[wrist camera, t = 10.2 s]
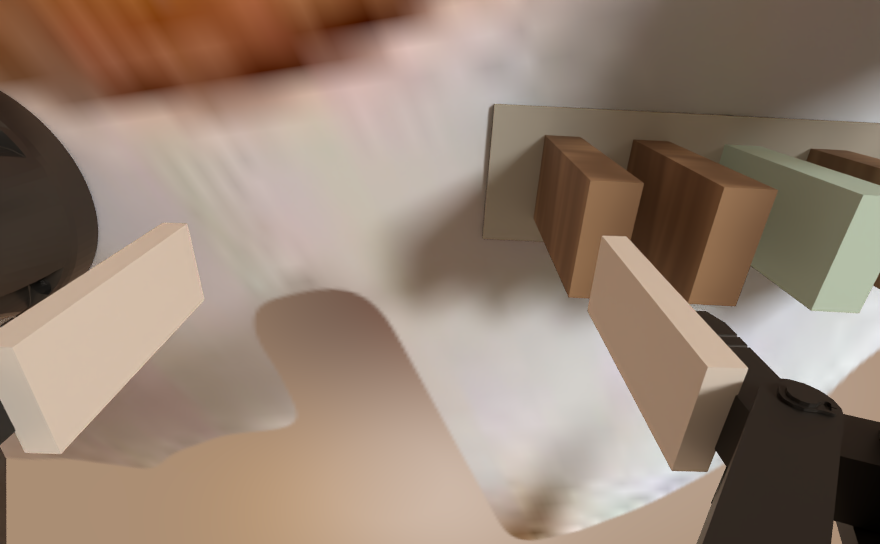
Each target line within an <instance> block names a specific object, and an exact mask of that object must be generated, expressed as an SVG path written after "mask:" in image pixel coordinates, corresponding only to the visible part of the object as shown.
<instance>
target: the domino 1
mask: <svg viewBox="0 0 880 544" xmlns="http://www.w3.org/2000/svg"><path fill="white" fill-rule="evenodd" d="M643 186H644V183H643V182H642V181H640V180H639V179H638V178H636V177H635V176H633V175H632V174H631V173H629V172H628V171H627V170H625V169H624V168H622V167H621V166H620V165H618V164H617V163H616V162H614V161H613V160H611V159H610V158H609V157H607V156H606V155H605V154H603V153H602V152H601V151H599V150H598V149H596V148H595V147H594V146H592V145H591V144H590V143H588V142H587V141H585V140H584V139H583V138H581V137H575V136H555V135H545V139H544V146H543V153H542V160H541V168H540V175H539V182H538V189H537V197H536V204H535V211H534V218H533V219H534V221H535V223H536V225H537V228H538V230H539V232H540V234H541V237H542V239H543V241H544V243H545V245H546V248H547V250H548V252H549V254H550V257H551V259H552V261H553V263H554V266H555V268H556V270H557V272H558V274H559V277H560V279H561V281H562V283H563V286H564V288H565V290H566V292H567V295H568V297H573V298H590V295H591V289H592V284H593V279H594V274H595V269H596V264H597V259H598V253H599V248H600V243H601V238H602V236H626V237H627V238H628V239H629V240H631V236H632V232H633V228H634V223H635V219H636V215H637V211H638V207H639V202H640V198H641V194H642V190H643Z"/></svg>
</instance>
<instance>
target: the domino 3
mask: <svg viewBox="0 0 880 544" xmlns="http://www.w3.org/2000/svg"><path fill="white" fill-rule="evenodd" d="M806 161H807V162H810V163H813V164H816V165H819V166H822V167H825V168H828V169H831V170H834V171H837V172H840V173H843V174H846V175H850V176H853V177H856V178H859V179H862V180H865V181H868V182H871V183H874V184H877V185H880V159H877V158H874V157H870V156H866V155H862V154H859V153H855V152H851V151H847V150H831V149H812V148H811V149H810V152H809V155H808V157H807V160H806ZM873 286H875V287H877V288H879V289H880V273H879V275H878V277H877V279H876V281H875V283H874V285H873Z"/></svg>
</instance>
